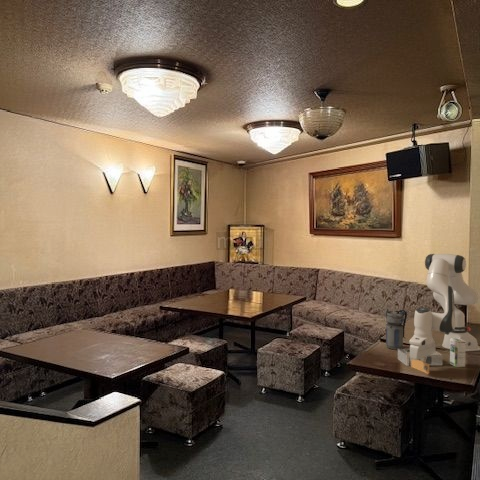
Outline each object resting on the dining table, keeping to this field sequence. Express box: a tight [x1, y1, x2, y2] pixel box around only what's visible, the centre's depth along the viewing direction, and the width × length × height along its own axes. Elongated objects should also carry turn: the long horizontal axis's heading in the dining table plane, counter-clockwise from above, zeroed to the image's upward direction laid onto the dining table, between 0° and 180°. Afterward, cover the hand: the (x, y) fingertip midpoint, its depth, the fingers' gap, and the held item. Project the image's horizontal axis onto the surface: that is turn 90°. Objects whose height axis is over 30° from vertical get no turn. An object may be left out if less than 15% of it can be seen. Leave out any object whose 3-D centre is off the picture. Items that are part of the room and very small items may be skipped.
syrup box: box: [449, 338, 466, 368], centre depth 225 cm, size 6×6×14 cm
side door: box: [409, 357, 430, 375], centre depth 218 cm, size 13×2×5 cm, turn 20°
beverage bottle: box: [384, 308, 408, 351], centre depth 258 cm, size 10×13×25 cm
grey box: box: [397, 348, 443, 367], centre depth 231 cm, size 20×14×7 cm
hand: (423, 364), depth 217 cm, fingers closed, pressing on side door
